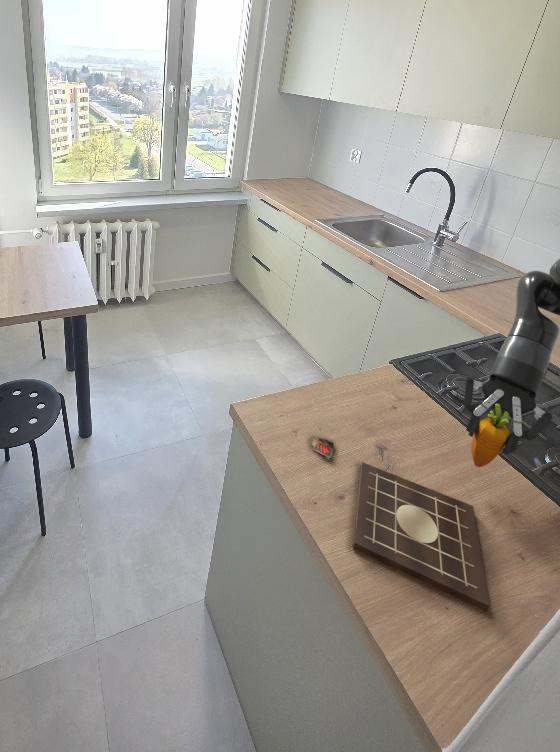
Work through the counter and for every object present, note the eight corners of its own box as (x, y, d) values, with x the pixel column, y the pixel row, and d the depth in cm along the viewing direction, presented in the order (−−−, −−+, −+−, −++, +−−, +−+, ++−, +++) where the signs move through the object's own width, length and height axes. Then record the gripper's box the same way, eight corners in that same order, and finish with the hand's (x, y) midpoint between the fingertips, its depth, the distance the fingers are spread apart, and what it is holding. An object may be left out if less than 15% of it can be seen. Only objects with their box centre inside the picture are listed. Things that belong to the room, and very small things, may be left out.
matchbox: (333, 442, 94) (334, 440, 93) (333, 461, 89) (334, 459, 89) (312, 436, 95) (312, 434, 95) (311, 454, 91) (311, 452, 90)
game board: (470, 510, 81) (473, 505, 80) (486, 611, 66) (490, 606, 65) (360, 466, 88) (362, 461, 88) (352, 547, 74) (354, 542, 73)
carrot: (491, 482, 80) (519, 425, 74) (461, 467, 83) (485, 411, 77) (492, 464, 84) (519, 408, 78) (463, 451, 86) (487, 395, 80)
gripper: (479, 342, 84) (445, 420, 81) (572, 379, 75) (538, 468, 71) (476, 352, 89) (444, 425, 86) (563, 387, 80) (531, 470, 77)
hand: (487, 444), depth 79 cm, fingers closed on carrot, 5 cm apart
